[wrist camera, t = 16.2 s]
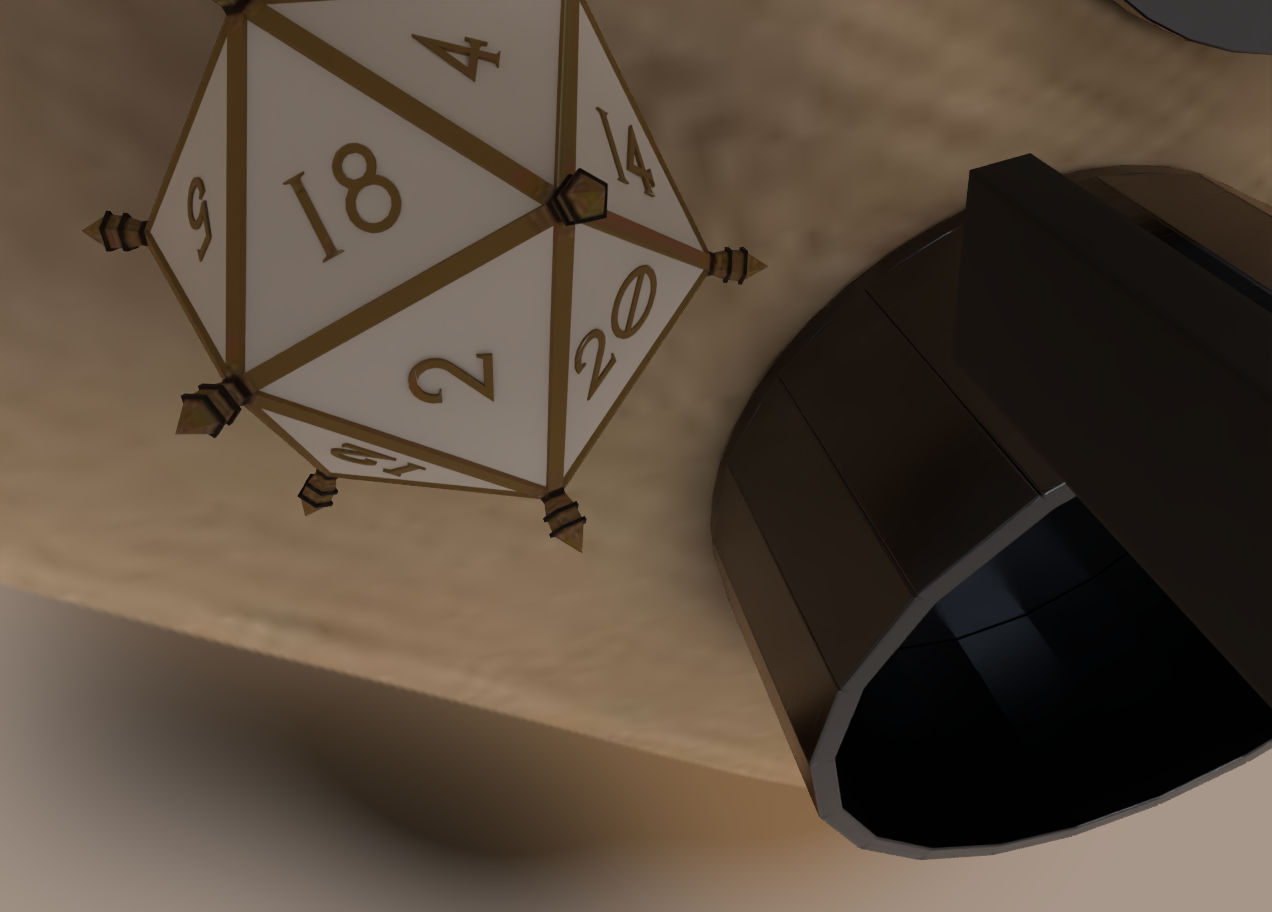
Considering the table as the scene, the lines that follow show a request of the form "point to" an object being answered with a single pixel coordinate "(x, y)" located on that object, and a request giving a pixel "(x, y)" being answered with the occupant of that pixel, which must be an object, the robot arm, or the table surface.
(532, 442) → the game die
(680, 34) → the table surface
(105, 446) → the table surface
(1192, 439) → the robot arm
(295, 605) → the table surface
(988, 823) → the pan
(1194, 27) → the pan lid
